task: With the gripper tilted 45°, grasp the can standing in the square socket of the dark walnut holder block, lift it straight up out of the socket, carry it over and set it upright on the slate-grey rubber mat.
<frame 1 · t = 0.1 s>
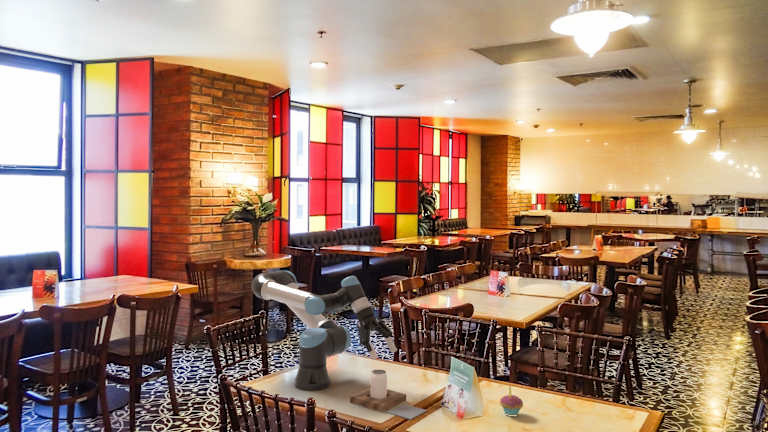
hand: (385, 355, 239), 15 cm above the table, tool tilted 35°, fingers open, 13 cm apart
cupcake: (510, 415, 216), on the table
can: (378, 402, 228), resting in holder
holder: (378, 401, 228), on the table
mat: (406, 411, 217), on the table
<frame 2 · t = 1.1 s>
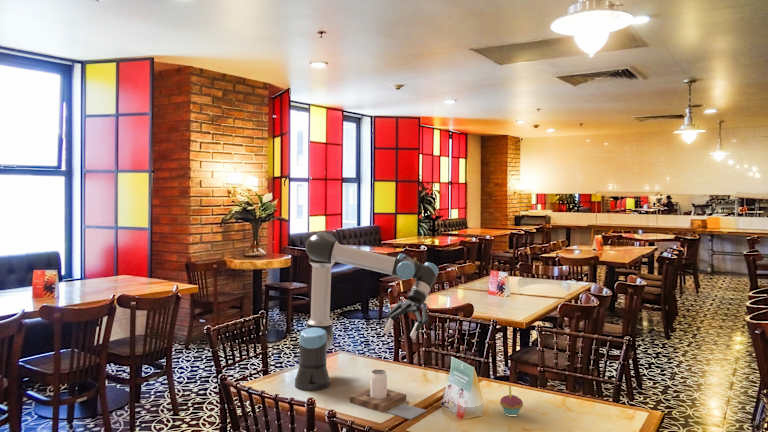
hand: (398, 335, 237), 24 cm above the table, tool tilted 45°, fingers open, 13 cm apart
nothing on the table moved.
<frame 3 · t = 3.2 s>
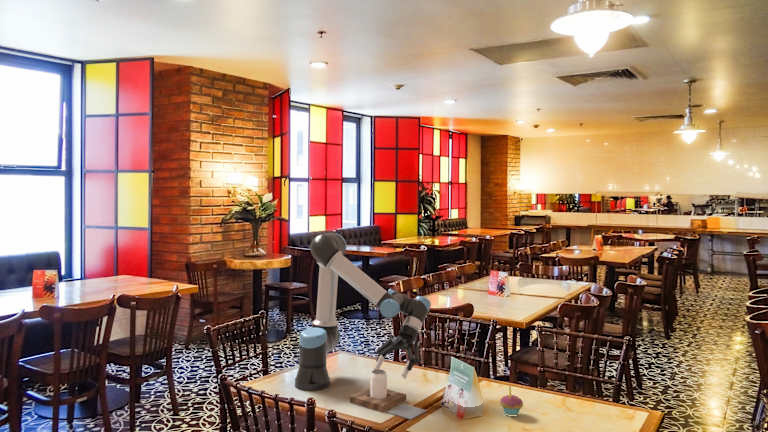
hand: (389, 373, 231), 10 cm above the table, tool tilted 45°, fingers open, 13 cm apart
nothing on the table moved.
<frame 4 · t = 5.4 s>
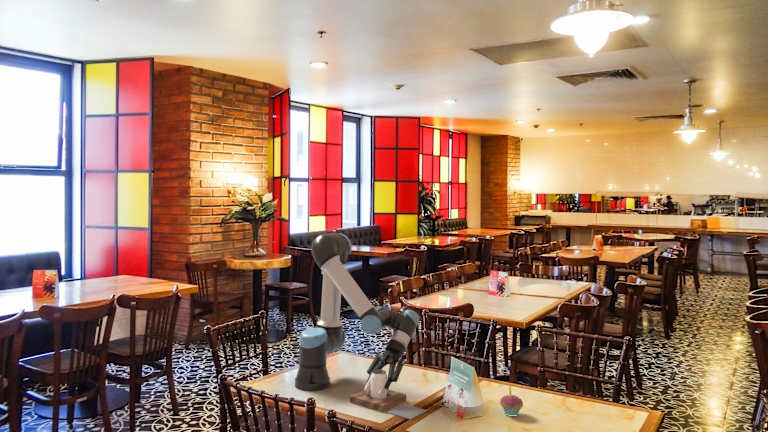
hand: (373, 393, 224), 4 cm above the table, tool tilted 45°, fingers closed on can, 6 cm apart
can: (378, 402, 228), resting in holder, touching gripper
everything else where it was.
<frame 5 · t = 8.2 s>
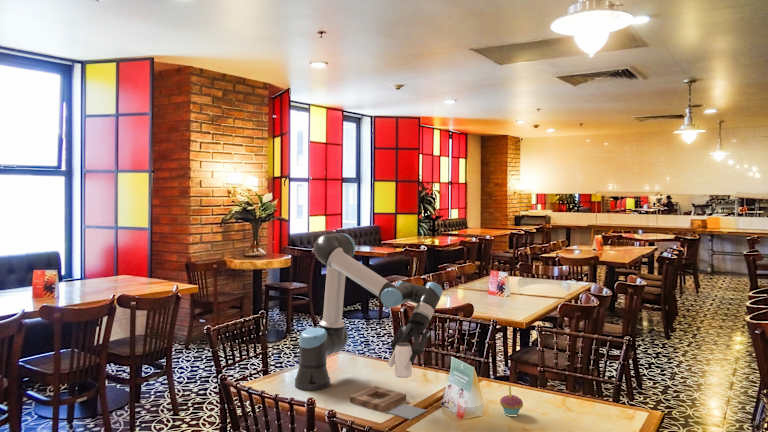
hand: (398, 366, 216), 17 cm above the table, tool tilted 45°, fingers closed on can, 6 cm apart
can: (403, 376, 219), point 13 cm above the table, touching gripper
everything else where it was.
when the fingers open (6 cm above the table, at t = 10.8 s): can moves 1 cm, resting on mat.
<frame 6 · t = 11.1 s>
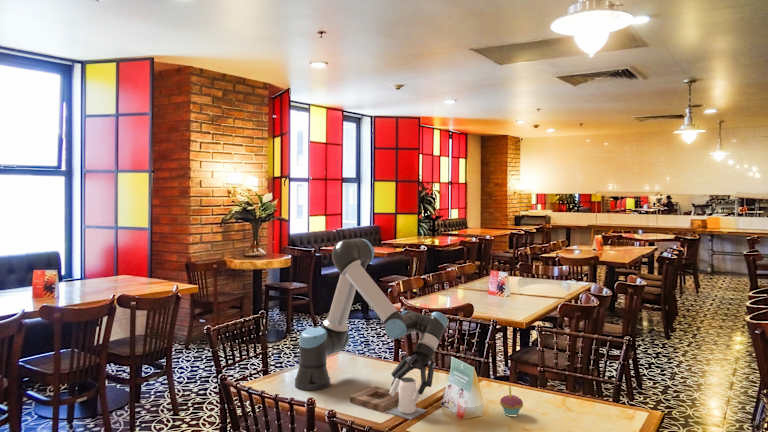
hand: (402, 397, 214), 6 cm above the table, tool tilted 45°, fingers open, 10 cm apart
can: (406, 411, 217), resting on mat
everything else where it was.
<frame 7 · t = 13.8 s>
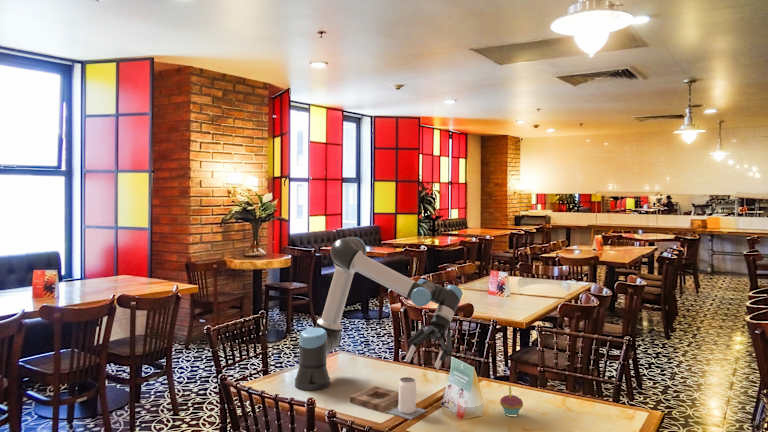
hand: (421, 364, 226), 16 cm above the table, tool tilted 45°, fingers open, 13 cm apart
nothing on the table moved.
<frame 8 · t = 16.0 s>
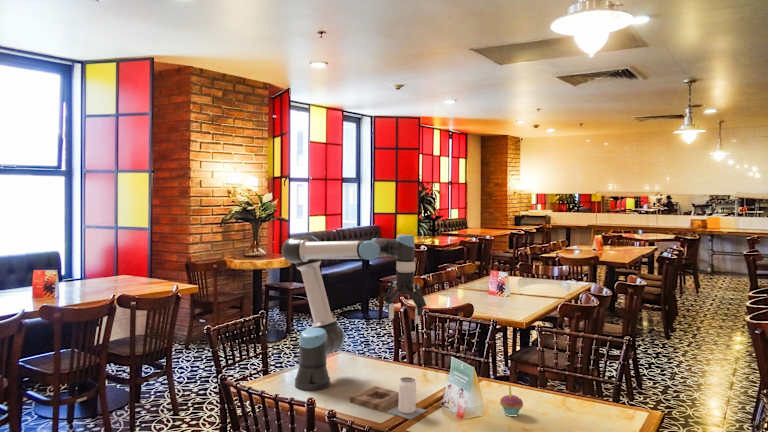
hand: (404, 320, 244), 29 cm above the table, tool pointing down, fingers open, 13 cm apart
nothing on the table moved.
at the end: can inside the target area on the mat (0.1 cm from its centre), point 0.2 cm above the mat's base; can tilted 0°; the gripper is holding nothing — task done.
